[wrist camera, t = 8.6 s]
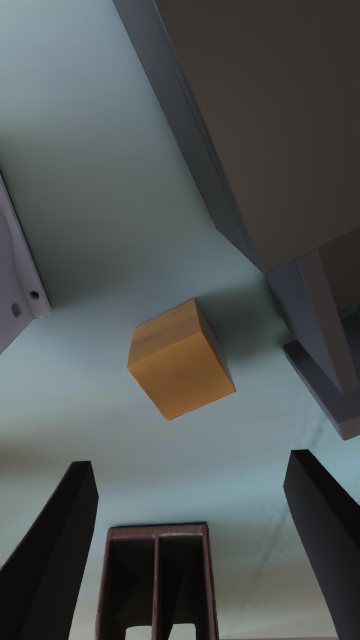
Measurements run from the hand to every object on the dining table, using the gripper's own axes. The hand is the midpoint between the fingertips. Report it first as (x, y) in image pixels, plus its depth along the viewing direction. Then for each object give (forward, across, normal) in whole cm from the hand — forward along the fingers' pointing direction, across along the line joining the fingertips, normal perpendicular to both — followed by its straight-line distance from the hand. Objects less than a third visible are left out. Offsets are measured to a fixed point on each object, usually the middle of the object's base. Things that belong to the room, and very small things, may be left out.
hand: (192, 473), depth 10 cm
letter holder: (+10, +3, +31) cm, 33 cm away
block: (+10, 0, 0) cm, 10 cm away
